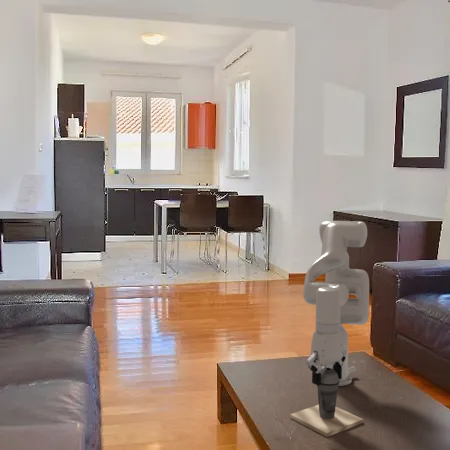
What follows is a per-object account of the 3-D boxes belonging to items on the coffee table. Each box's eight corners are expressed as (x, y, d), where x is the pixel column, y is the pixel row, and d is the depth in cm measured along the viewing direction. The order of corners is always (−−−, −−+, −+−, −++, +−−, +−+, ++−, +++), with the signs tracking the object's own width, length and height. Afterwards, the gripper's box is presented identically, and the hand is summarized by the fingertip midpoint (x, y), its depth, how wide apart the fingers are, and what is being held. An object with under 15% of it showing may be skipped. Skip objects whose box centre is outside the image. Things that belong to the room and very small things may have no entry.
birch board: (325, 405, 189) (325, 402, 188) (363, 422, 176) (363, 419, 176) (290, 417, 179) (290, 414, 179) (326, 437, 166) (326, 433, 166)
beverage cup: (338, 422, 173) (340, 359, 171) (314, 420, 175) (315, 357, 173) (338, 412, 181) (339, 351, 179) (315, 410, 182) (316, 350, 180)
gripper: (338, 320, 183) (337, 371, 184) (298, 329, 172) (298, 383, 174) (356, 325, 176) (354, 378, 178) (316, 334, 166) (315, 391, 168)
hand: (326, 380), depth 176 cm, fingers open, 8 cm apart
